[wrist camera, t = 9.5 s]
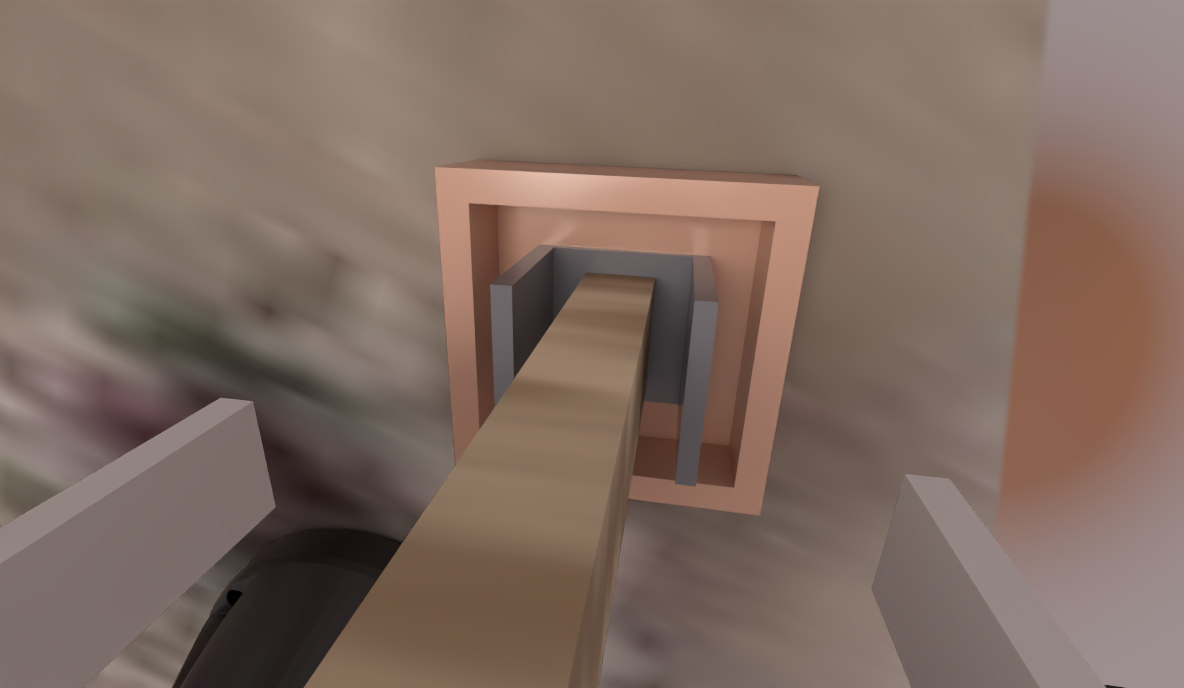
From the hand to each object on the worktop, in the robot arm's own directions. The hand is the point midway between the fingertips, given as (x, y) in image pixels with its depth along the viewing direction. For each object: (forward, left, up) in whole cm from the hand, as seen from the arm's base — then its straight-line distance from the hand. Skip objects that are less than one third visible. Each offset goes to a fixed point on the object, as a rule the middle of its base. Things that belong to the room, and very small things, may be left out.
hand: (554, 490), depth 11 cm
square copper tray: (0, 0, -11) cm, 11 cm away
